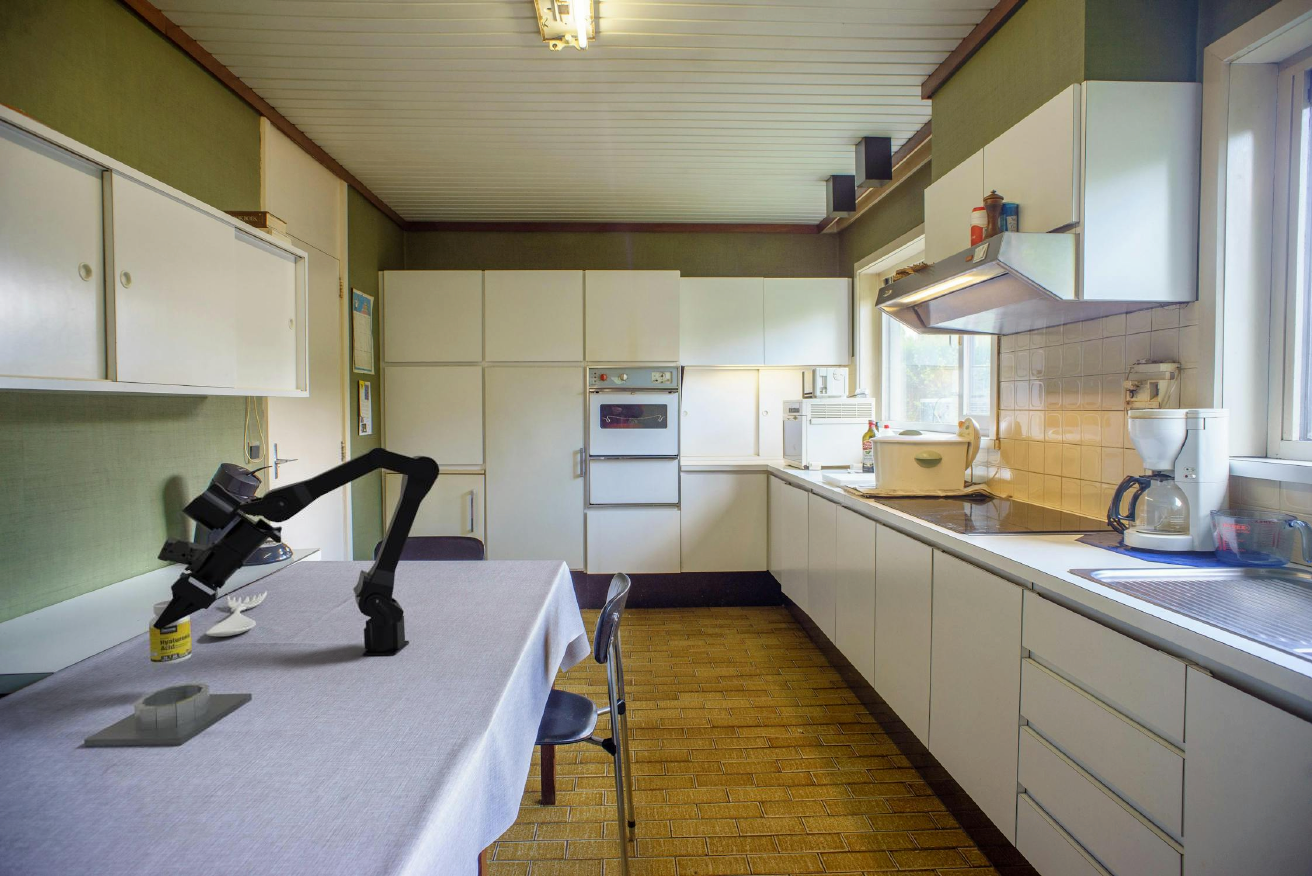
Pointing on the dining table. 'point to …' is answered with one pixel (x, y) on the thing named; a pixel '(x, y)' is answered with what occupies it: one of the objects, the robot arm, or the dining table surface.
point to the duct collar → (169, 717)
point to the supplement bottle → (169, 639)
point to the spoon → (236, 618)
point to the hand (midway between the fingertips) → (158, 623)
